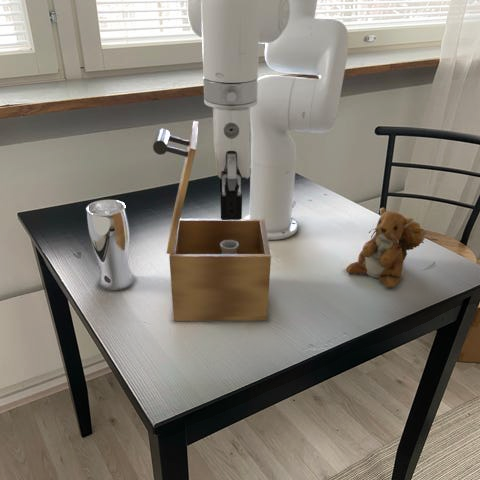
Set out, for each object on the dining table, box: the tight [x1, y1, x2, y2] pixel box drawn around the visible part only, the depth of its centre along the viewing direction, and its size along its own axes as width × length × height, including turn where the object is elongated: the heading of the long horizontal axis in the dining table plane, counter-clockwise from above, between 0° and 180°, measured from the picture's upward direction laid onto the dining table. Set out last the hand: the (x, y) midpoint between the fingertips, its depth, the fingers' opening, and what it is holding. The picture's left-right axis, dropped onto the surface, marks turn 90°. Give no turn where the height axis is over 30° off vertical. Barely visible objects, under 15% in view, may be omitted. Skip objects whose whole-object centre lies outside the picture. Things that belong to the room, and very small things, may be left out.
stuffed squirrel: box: [345, 207, 426, 289], centre depth 95 cm, size 10×14×13 cm
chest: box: [168, 218, 272, 322], centre depth 86 cm, size 16×14×12 cm
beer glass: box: [85, 199, 134, 291], centre depth 89 cm, size 7×7×15 cm
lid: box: [152, 120, 200, 255], centre depth 77 cm, size 17×14×6 cm
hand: (230, 205), depth 80 cm, fingers open, 9 cm apart
